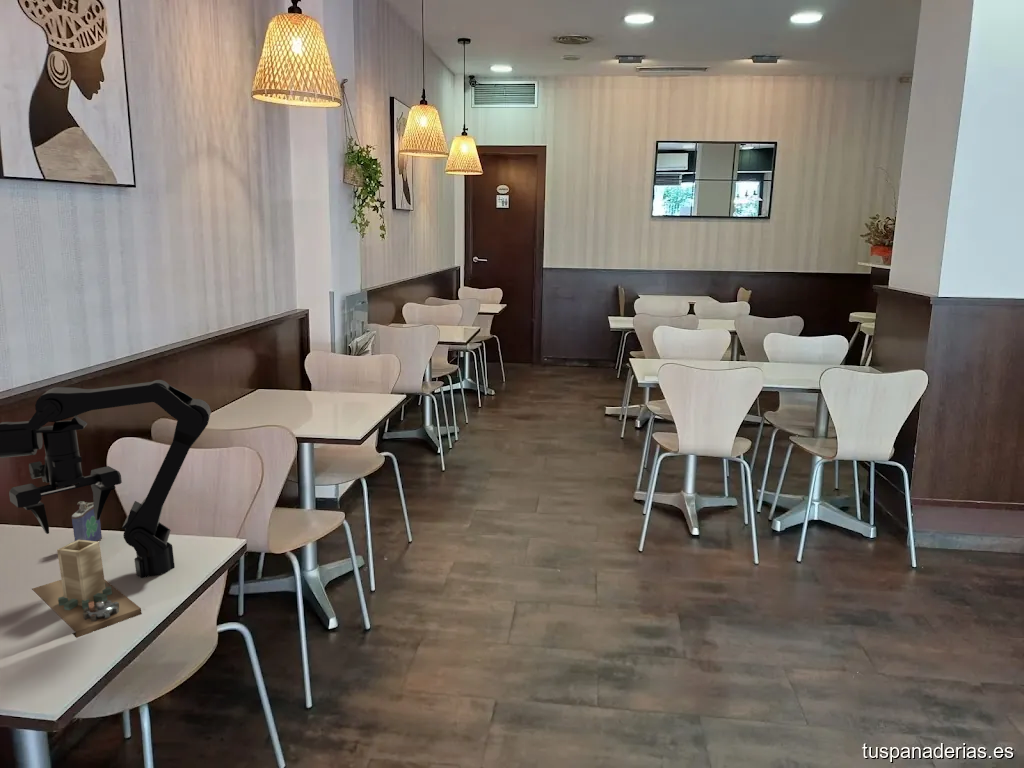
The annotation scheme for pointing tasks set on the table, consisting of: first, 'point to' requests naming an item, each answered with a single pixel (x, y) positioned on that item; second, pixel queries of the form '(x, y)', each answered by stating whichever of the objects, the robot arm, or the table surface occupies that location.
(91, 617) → the drive gear
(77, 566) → the open-ended square tube
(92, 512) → the flask
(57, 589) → the gear board
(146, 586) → the table surface
